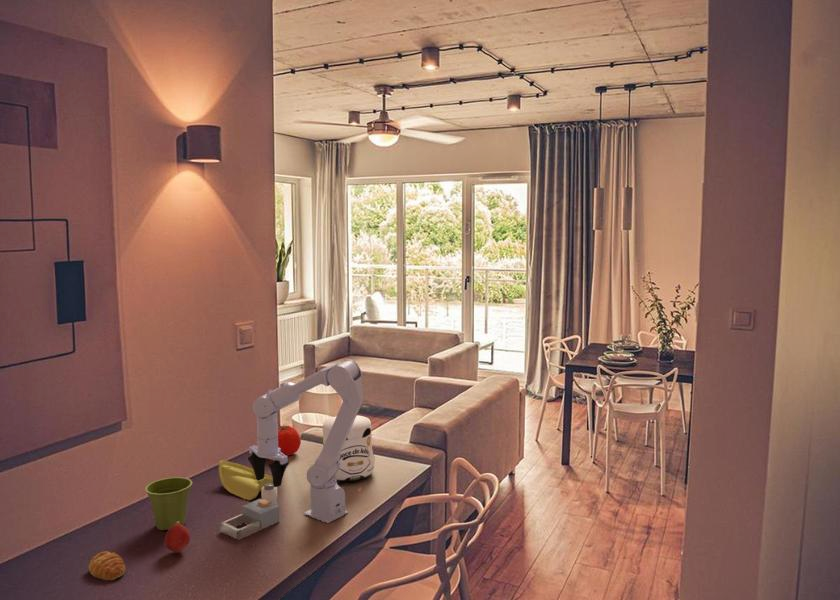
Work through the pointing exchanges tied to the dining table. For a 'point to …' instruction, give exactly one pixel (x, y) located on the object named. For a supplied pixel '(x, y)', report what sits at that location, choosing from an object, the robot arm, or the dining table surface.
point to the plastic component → (241, 480)
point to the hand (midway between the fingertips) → (268, 482)
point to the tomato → (288, 440)
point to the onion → (177, 537)
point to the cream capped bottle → (269, 493)
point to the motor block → (262, 512)
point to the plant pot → (169, 500)
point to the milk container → (354, 450)
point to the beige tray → (230, 524)
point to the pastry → (107, 566)
